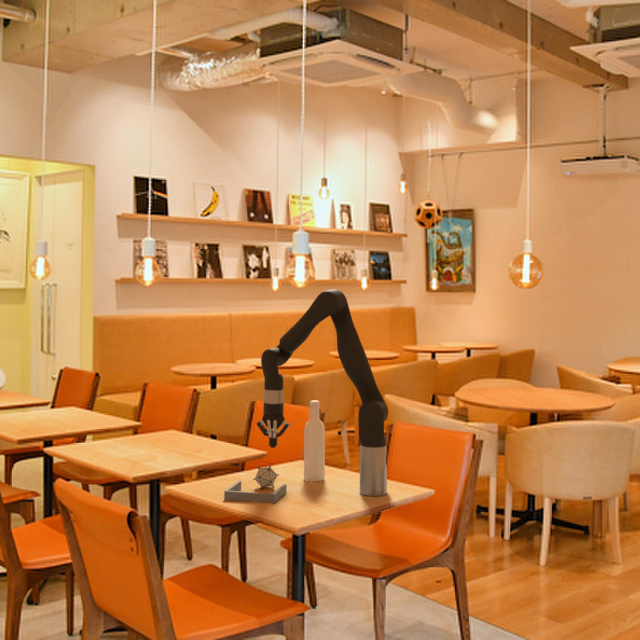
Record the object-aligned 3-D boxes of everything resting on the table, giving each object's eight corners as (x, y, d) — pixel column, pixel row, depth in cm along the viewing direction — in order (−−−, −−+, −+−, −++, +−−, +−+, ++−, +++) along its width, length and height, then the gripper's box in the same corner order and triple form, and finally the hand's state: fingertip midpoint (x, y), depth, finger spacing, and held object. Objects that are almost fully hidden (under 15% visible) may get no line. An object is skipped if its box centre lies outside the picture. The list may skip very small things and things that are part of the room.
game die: (270, 498, 304) (277, 480, 299) (248, 490, 304) (255, 472, 299) (276, 481, 312) (283, 463, 306) (254, 473, 312) (261, 455, 306)
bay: (286, 492, 299) (286, 484, 299) (274, 503, 284) (274, 494, 284) (238, 489, 303) (238, 480, 303) (224, 499, 289) (224, 491, 288)
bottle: (319, 483, 313) (319, 403, 312) (300, 480, 316) (300, 401, 315) (328, 478, 320) (328, 400, 319) (309, 476, 324) (310, 398, 322)
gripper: (293, 400, 315) (292, 446, 316) (259, 399, 318) (259, 444, 319) (288, 403, 308) (287, 450, 309) (253, 402, 311) (253, 448, 312)
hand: (273, 447), depth 314 cm, fingers closed
